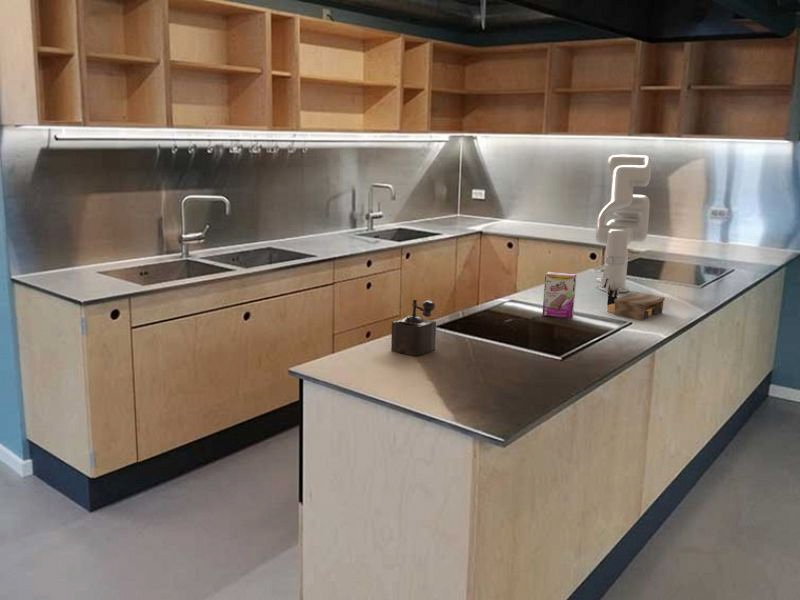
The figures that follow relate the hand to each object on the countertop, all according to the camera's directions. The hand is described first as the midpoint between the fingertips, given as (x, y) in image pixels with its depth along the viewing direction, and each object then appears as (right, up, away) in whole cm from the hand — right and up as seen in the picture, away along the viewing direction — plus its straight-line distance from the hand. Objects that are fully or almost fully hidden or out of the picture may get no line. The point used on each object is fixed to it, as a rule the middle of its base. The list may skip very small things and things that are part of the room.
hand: (611, 305), depth 286 cm
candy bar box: (-24, -4, -13) cm, 28 cm away
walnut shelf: (+8, -3, -7) cm, 11 cm away
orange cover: (+6, -3, -6) cm, 9 cm away
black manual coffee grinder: (-78, -14, -60) cm, 100 cm away
